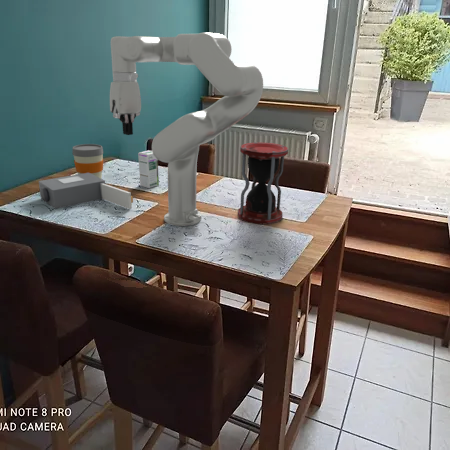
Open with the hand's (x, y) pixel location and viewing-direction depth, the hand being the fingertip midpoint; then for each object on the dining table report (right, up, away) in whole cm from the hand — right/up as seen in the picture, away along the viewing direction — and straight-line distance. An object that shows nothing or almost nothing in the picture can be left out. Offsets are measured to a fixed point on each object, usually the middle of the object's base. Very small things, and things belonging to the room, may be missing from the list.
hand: (128, 134), depth 147 cm
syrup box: (+1, -14, +37) cm, 39 cm away
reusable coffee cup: (-25, -12, +40) cm, 49 cm away
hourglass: (+46, -28, +7) cm, 54 cm away
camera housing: (-25, -21, +19) cm, 37 cm away
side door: (-7, -23, +14) cm, 28 cm away
